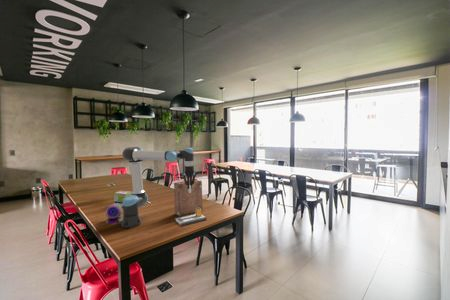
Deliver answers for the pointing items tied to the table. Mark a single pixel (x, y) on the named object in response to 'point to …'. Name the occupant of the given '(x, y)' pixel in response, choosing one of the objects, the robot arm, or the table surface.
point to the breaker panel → (188, 218)
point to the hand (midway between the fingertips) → (189, 192)
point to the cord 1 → (184, 216)
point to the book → (187, 198)
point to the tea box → (120, 197)
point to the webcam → (114, 213)
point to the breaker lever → (198, 212)
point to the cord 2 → (193, 221)
